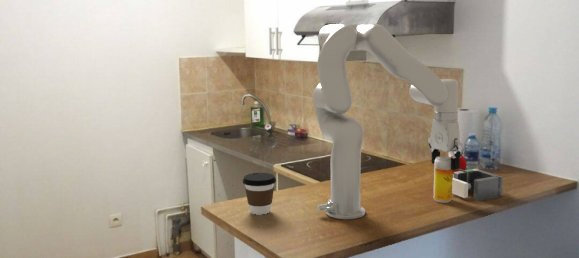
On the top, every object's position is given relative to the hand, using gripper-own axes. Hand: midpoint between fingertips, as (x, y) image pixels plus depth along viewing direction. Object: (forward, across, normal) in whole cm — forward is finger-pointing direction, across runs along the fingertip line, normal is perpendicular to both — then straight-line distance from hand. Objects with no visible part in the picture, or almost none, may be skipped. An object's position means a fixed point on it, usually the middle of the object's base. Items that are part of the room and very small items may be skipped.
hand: (445, 166), depth 188 cm
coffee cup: (+11, -18, -61) cm, 64 cm away
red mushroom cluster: (+13, -17, +20) cm, 29 cm away
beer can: (+12, 0, -1) cm, 12 cm away
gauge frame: (+12, 0, +14) cm, 19 cm away
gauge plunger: (+11, -1, +8) cm, 14 cm away
